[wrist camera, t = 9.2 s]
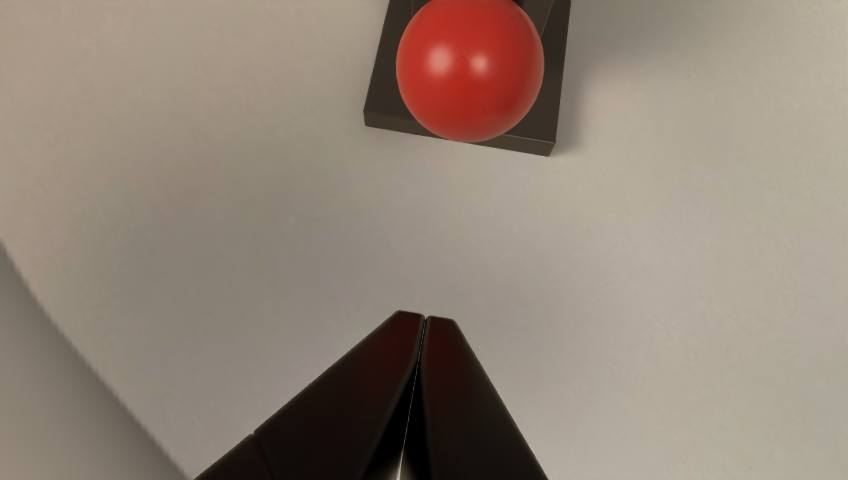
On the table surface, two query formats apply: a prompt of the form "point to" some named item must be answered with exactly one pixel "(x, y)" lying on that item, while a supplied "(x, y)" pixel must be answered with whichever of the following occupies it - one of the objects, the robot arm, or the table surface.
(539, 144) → the switch bracket
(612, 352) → the table surface
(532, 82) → the power switch
